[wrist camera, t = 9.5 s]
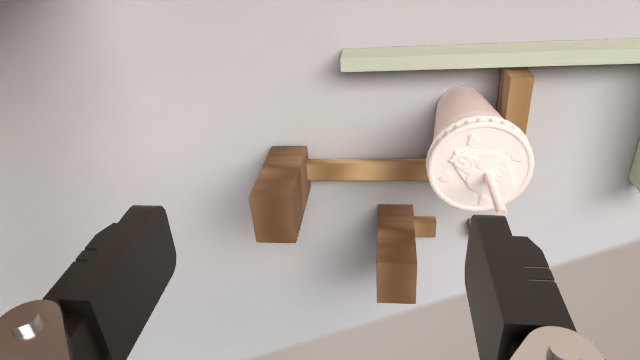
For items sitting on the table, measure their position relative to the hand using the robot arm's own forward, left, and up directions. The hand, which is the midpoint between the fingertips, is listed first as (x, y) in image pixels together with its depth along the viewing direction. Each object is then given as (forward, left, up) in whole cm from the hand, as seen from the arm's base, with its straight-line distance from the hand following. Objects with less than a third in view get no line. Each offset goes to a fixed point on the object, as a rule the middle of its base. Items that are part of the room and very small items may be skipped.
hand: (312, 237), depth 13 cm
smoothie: (+8, -8, -27) cm, 29 cm away
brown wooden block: (+6, -18, -27) cm, 33 cm away
